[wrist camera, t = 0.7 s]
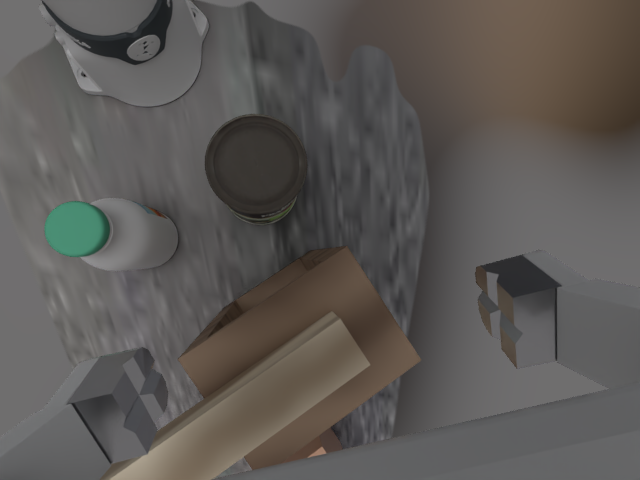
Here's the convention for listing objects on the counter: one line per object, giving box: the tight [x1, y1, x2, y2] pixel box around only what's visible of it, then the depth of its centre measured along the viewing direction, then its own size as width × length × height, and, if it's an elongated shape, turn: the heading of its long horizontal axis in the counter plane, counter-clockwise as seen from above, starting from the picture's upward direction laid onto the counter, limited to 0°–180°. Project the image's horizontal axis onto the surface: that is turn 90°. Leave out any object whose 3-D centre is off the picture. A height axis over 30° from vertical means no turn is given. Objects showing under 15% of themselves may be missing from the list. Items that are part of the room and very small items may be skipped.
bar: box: [100, 311, 370, 480], centre depth 25 cm, size 4×19×4 cm, turn 123°
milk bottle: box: [45, 198, 178, 271], centre depth 42 cm, size 8×8×20 cm
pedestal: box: [281, 427, 343, 464], centre depth 45 cm, size 8×8×15 cm
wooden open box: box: [178, 246, 421, 470], centre depth 40 cm, size 10×14×26 cm
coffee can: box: [205, 114, 307, 225], centre depth 47 cm, size 10×10×14 cm
